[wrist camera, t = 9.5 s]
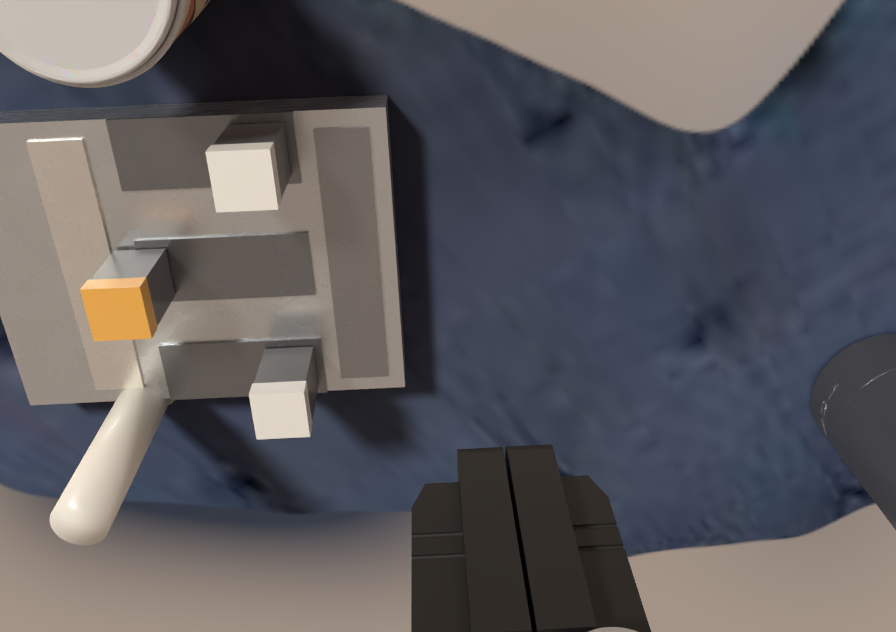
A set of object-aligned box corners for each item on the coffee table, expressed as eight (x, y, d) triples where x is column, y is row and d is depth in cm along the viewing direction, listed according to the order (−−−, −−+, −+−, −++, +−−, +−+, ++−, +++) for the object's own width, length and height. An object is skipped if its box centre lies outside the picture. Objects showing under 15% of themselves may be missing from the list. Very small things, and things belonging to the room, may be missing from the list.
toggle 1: (166, 247, 47) (139, 287, 42) (176, 295, 48) (151, 338, 44) (112, 249, 47) (79, 289, 42) (124, 298, 48) (94, 341, 44)
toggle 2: (284, 121, 44) (269, 149, 39) (292, 176, 45) (278, 209, 40) (227, 123, 44) (205, 151, 39) (236, 179, 45) (216, 212, 40)
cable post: (176, 355, 54) (106, 495, 42) (186, 400, 56) (121, 547, 43) (122, 358, 54) (35, 499, 42) (133, 403, 56) (53, 551, 43)
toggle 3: (314, 345, 50) (303, 392, 46) (319, 387, 52) (310, 436, 47) (263, 348, 50) (248, 394, 46) (270, 390, 52) (256, 439, 47)
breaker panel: (387, 94, 46) (385, 107, 44) (405, 362, 55) (405, 388, 52) (-36, 112, 46) (-65, 127, 43) (48, 380, 54) (28, 406, 52)
